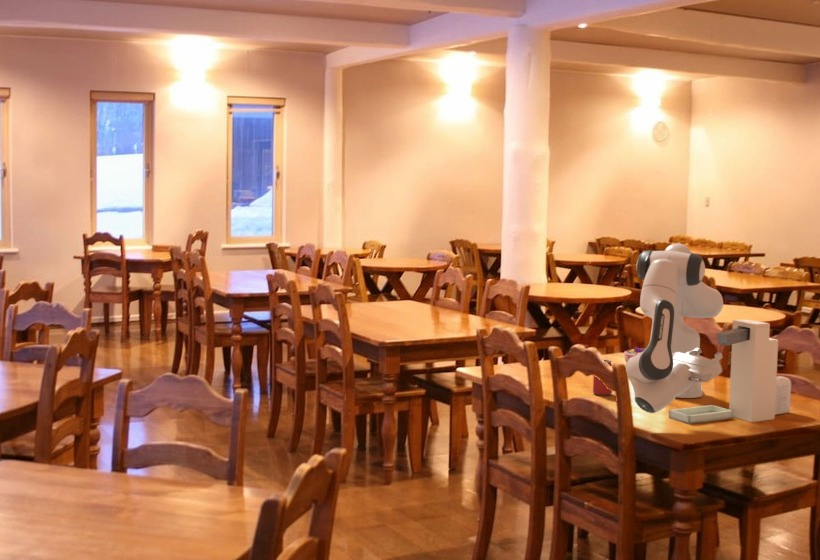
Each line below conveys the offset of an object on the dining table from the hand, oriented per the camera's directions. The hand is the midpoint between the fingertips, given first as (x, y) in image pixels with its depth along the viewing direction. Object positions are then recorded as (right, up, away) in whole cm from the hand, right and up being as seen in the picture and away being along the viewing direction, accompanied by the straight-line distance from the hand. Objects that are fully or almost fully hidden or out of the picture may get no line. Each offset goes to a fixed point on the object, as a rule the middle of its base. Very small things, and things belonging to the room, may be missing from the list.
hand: (709, 352), depth 331 cm
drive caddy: (+10, +3, +5) cm, 12 cm away
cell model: (0, -14, +86) cm, 87 cm away
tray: (0, -22, +9) cm, 24 cm away
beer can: (-26, -18, +44) cm, 54 cm away
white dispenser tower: (+16, -22, +11) cm, 29 cm away
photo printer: (+27, -22, +17) cm, 38 cm away
